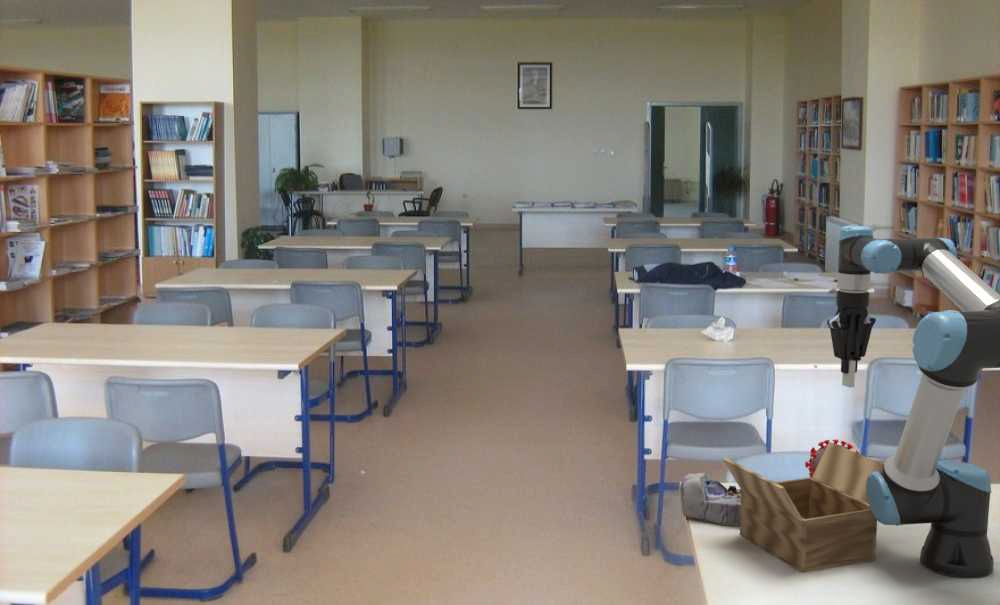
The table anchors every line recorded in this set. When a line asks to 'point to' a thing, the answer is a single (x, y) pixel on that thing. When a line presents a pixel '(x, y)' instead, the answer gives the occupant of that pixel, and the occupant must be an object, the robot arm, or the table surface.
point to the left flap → (762, 488)
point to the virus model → (819, 454)
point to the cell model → (710, 500)
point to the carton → (811, 527)
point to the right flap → (846, 471)
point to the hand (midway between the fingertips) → (848, 385)
